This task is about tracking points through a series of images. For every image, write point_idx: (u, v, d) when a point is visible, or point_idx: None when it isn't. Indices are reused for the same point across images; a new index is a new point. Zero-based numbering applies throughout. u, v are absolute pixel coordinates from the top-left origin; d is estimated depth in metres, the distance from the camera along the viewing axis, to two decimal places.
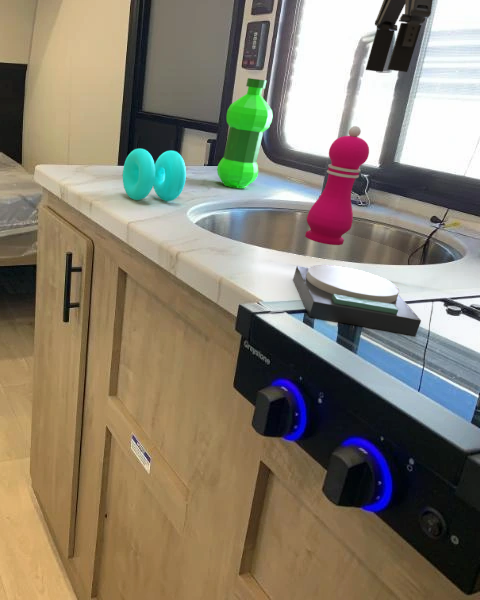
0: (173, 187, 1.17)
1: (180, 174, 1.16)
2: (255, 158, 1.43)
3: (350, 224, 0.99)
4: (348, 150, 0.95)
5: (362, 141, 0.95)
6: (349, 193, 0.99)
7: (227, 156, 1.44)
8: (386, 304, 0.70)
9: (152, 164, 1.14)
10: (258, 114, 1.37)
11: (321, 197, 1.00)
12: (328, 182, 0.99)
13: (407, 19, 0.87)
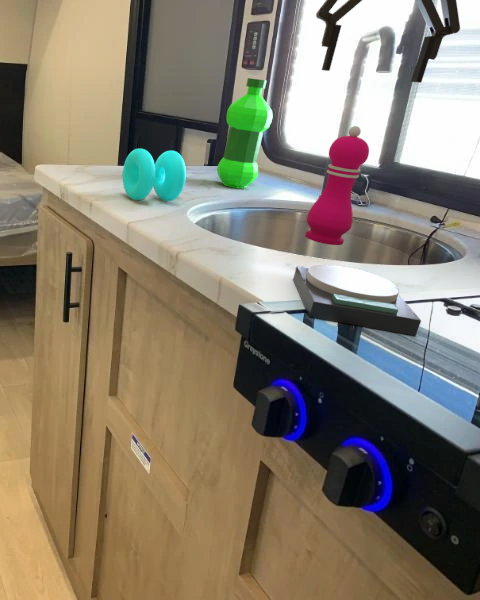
0: (173, 187, 1.17)
1: (180, 174, 1.16)
2: (255, 158, 1.43)
3: (350, 224, 0.99)
4: (348, 150, 0.95)
5: (362, 141, 0.95)
6: (349, 193, 0.99)
7: (227, 156, 1.44)
8: (386, 304, 0.70)
9: (152, 164, 1.14)
10: (258, 114, 1.37)
11: (321, 197, 1.00)
12: (328, 182, 0.99)
13: None
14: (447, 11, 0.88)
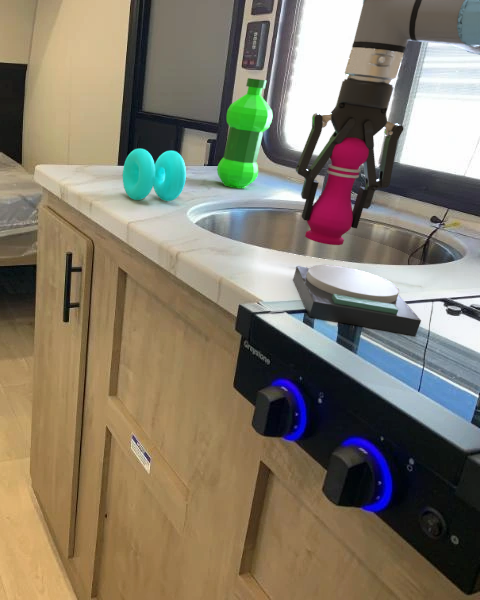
0: (173, 187, 1.17)
1: (180, 174, 1.16)
2: (255, 158, 1.43)
3: (350, 224, 0.99)
4: (348, 150, 0.95)
5: (362, 141, 0.95)
6: (349, 193, 0.99)
7: (227, 156, 1.44)
8: (386, 304, 0.70)
9: (152, 164, 1.14)
10: (258, 114, 1.37)
11: (321, 197, 1.00)
12: (328, 182, 0.99)
13: None
14: (384, 166, 0.96)
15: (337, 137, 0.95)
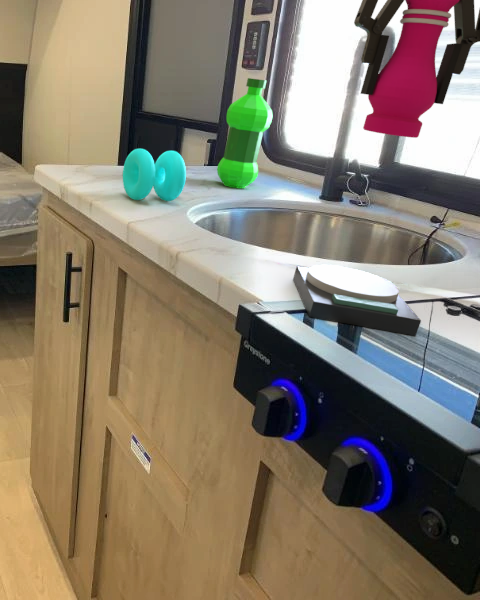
0: (173, 187, 1.17)
1: (180, 174, 1.16)
2: (255, 158, 1.43)
3: (434, 97, 0.69)
4: None
5: None
6: (433, 51, 0.68)
7: (227, 156, 1.44)
8: (386, 304, 0.70)
9: (152, 164, 1.14)
10: (258, 114, 1.37)
11: (391, 59, 0.70)
12: (402, 36, 0.69)
13: None
14: None
15: None
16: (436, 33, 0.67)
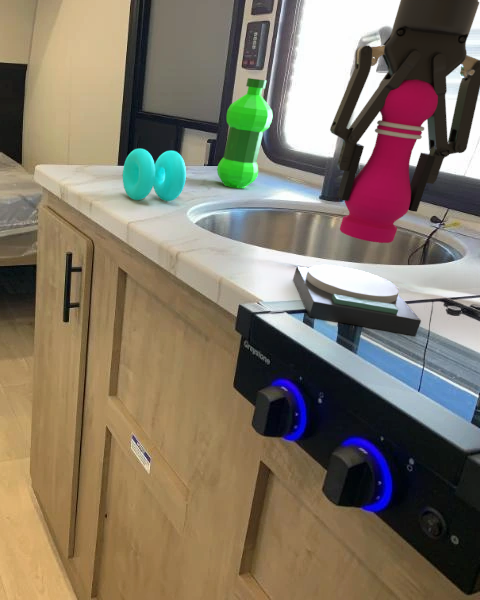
0: (173, 187, 1.17)
1: (180, 174, 1.16)
2: (255, 158, 1.43)
3: (408, 205, 0.70)
4: (410, 97, 0.66)
5: (429, 85, 0.66)
6: (407, 161, 0.69)
7: (227, 156, 1.44)
8: (386, 304, 0.70)
9: (152, 164, 1.14)
10: (258, 114, 1.37)
11: (366, 167, 0.71)
12: (377, 146, 0.70)
13: None
14: (459, 122, 0.67)
15: (393, 79, 0.66)
16: (409, 146, 0.68)
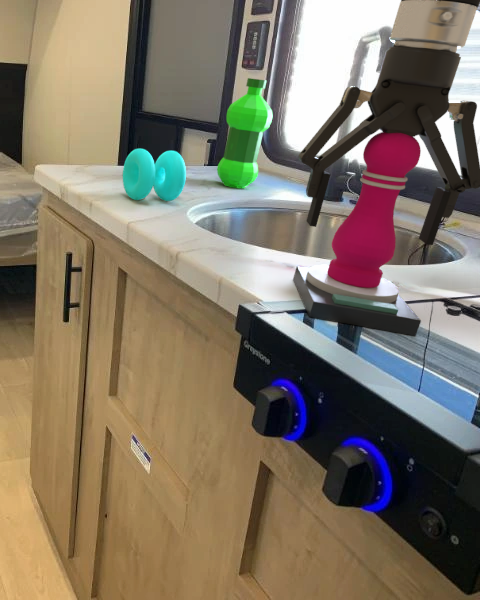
0: (173, 187, 1.17)
1: (180, 174, 1.16)
2: (255, 158, 1.43)
3: (392, 252, 0.72)
4: (393, 150, 0.68)
5: (412, 138, 0.68)
6: (391, 210, 0.72)
7: (227, 156, 1.44)
8: (386, 304, 0.70)
9: (152, 164, 1.14)
10: (258, 114, 1.37)
11: (352, 215, 0.73)
12: (362, 195, 0.72)
13: None
14: (465, 161, 0.68)
15: (373, 122, 0.68)
16: (393, 196, 0.71)
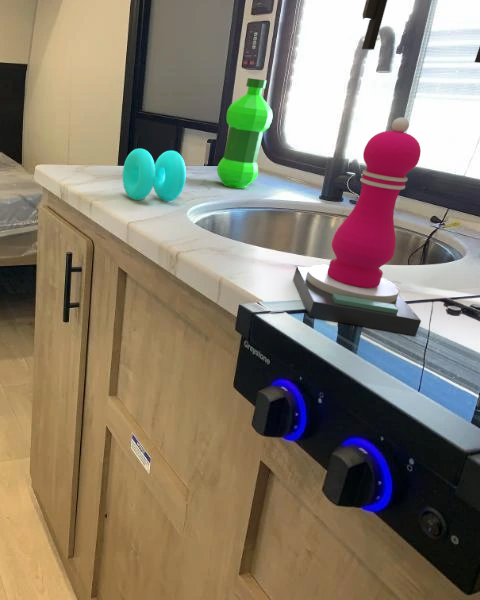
0: (173, 187, 1.17)
1: (180, 174, 1.16)
2: (255, 158, 1.43)
3: (392, 252, 0.72)
4: (393, 150, 0.68)
5: (412, 138, 0.68)
6: (391, 210, 0.72)
7: (227, 156, 1.44)
8: (386, 304, 0.70)
9: (152, 164, 1.14)
10: (258, 114, 1.37)
11: (352, 215, 0.73)
12: (362, 195, 0.72)
13: None
14: None
15: None
16: (393, 196, 0.71)
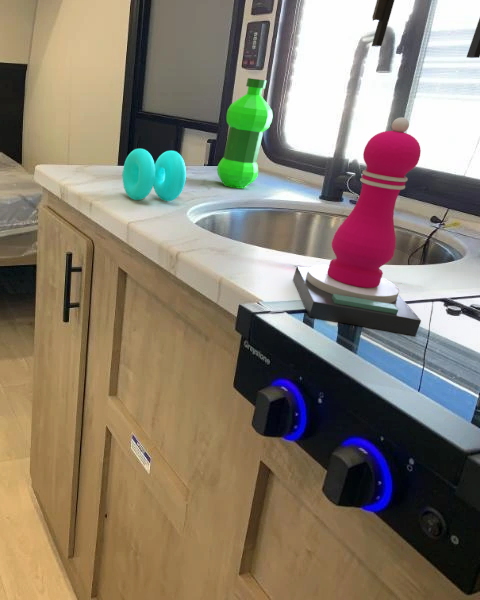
0: (173, 187, 1.17)
1: (180, 174, 1.16)
2: (255, 158, 1.43)
3: (392, 252, 0.72)
4: (393, 150, 0.68)
5: (412, 138, 0.68)
6: (391, 210, 0.72)
7: (227, 156, 1.44)
8: (386, 304, 0.70)
9: (152, 164, 1.14)
10: (258, 114, 1.37)
11: (352, 215, 0.73)
12: (362, 195, 0.72)
13: None
14: None
15: None
16: (393, 196, 0.71)
